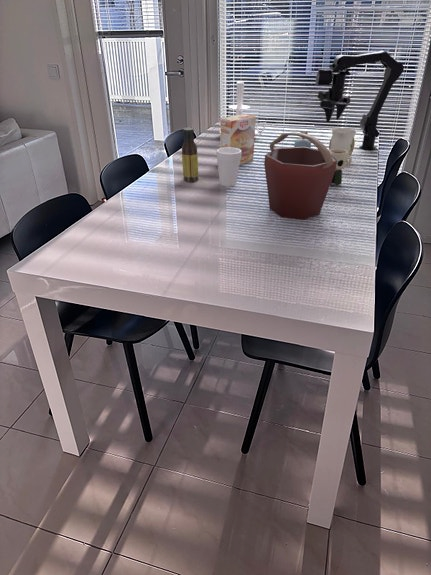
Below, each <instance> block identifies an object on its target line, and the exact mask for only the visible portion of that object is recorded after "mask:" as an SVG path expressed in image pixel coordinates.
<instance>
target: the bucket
mask: <svg viewBox="0 0 431 575" xmlns="http://www.w3.org/2000/svg"><path fill="white" fill-rule="evenodd" d="M289 136H293V137H294V136H295V137H296V136H297V137H299V138H302V137H303V138H305V139H307V140H309V141H310V142H311V145H312V144H313V146H314V147H316V148H313V147H311V148H308V147H294V146H293V147H291V146H289V147H288V146H287V147H286V146H285V147H276V144H279V143H281V142H282V141H284V140H285V139H286V138H287V137H289ZM269 143H270V144H269V149H270V151H269V152H267V153H266V154H264V162H263V163H264V164H263V166H264V172H265V174H264V175H265V180H266V188H267V189H266V190H267V196H268V204H269V210H270V211H272V212H273V213H274V214H276V215H277V216H278V217H280V218H281V219H282V218H283V219H290V220H291V219H293V220H302V221H305V220H308V219H311V218H314V217H318V216H320V214H321V211H322V208H323V206H324V203H325V201H326V197H327V195H328V192H329V189H330V187H331V185H330V184H331V182H332V179H333V176H334V173H335V171H336V165H337V160H336V159H335V157H334V156H333V154H332V153H331V152H329V148H327V147H326V146H325V145H324V143H322V141H321V140H320V139H318V138H316V137H315V136H312V135H311V134H305V133H300V132H286V133H282V134H280V135H279V136H278V137H277V138H275V139H274V140H273V141H272V142H269Z"/></svg>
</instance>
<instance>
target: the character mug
mask: <svg viewBox="0 0 431 575" xmlns="http://www.w3.org/2000/svg"><path fill="white" fill-rule="evenodd" d="M328 150H329V149H328ZM329 152H331V153H332V154H333V156H334V157H335V159H336V160H337V165H336V171H335V173H334V176H333V179H332V182H331V184H330V186H332V184H333V186H341V184H342V180H343V171H342V170H343V169H345V167H346V166H351V165H352V161H353V158H352V157H351V156H350V157H347V155H348V152H347V151H346V150H343V149H330V150H329ZM347 159H348V160H347ZM346 160H347V161H348V162H347V161H346Z"/></svg>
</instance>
